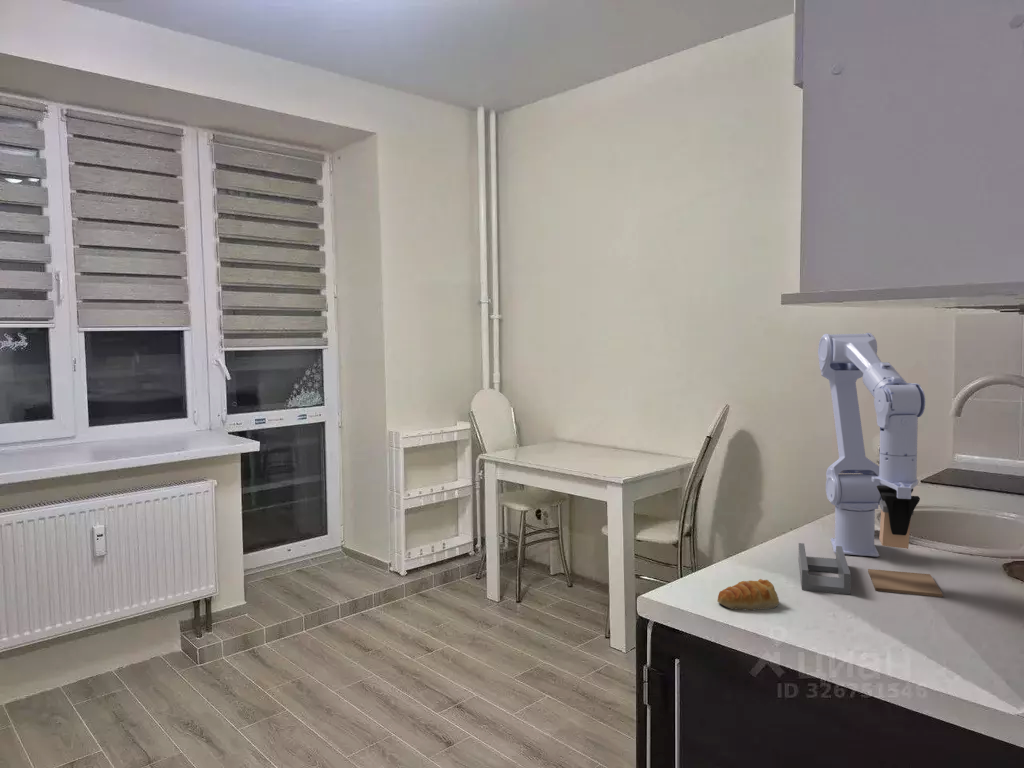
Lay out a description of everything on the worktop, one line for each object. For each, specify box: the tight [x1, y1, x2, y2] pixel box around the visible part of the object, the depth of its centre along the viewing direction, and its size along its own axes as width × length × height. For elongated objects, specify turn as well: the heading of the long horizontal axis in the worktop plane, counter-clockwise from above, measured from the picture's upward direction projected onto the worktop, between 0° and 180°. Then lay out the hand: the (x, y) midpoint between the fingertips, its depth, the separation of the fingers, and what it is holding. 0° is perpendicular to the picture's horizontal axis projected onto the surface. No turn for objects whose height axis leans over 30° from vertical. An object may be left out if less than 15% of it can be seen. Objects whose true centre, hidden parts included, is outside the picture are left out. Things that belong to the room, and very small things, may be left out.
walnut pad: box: [867, 568, 944, 598], centre depth 124 cm, size 10×10×1 cm
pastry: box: [717, 578, 780, 611], centre depth 117 cm, size 9×7×4 cm
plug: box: [878, 500, 915, 550], centre depth 124 cm, size 5×5×7 cm
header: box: [797, 542, 852, 595], centre depth 128 cm, size 16×8×4 cm, turn 160°
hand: (896, 530), depth 124 cm, fingers closed on plug, 4 cm apart
